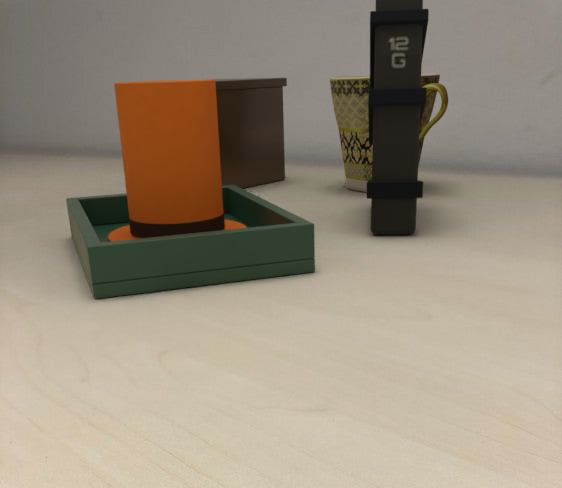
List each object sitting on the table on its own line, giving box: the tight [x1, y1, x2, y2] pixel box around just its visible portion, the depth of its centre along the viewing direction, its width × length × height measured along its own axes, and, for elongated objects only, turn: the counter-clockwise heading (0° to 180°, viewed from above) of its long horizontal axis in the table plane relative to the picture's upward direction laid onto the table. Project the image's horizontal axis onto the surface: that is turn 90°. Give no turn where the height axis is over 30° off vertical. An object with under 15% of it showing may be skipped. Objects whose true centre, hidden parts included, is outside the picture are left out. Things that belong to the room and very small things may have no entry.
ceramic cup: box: [329, 73, 449, 193], centre depth 65 cm, size 13×10×10 cm
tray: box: [65, 185, 316, 300], centre depth 46 cm, size 17×13×3 cm
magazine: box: [366, 0, 430, 236], centre depth 52 cm, size 4×13×15 cm, turn 173°
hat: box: [108, 79, 247, 242], centre depth 44 cm, size 9×9×10 cm
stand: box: [204, 77, 288, 189], centre depth 72 cm, size 11×11×10 cm
